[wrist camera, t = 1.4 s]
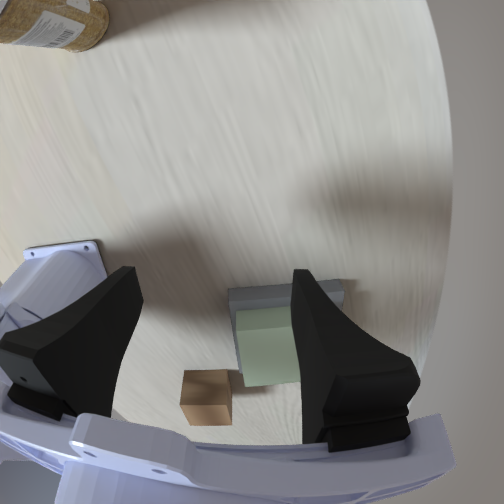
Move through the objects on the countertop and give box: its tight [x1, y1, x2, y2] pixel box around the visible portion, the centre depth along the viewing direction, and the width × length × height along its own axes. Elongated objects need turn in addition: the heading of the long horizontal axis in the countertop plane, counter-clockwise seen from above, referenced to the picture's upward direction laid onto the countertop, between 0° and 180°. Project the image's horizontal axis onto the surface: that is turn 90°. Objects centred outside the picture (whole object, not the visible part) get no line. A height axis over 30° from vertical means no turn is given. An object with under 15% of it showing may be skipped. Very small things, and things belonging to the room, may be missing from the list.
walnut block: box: [180, 369, 232, 426], centre depth 31 cm, size 5×5×5 cm
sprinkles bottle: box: [0, 0, 109, 52], centre depth 8 cm, size 5×5×13 cm
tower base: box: [228, 279, 345, 373], centre depth 28 cm, size 10×10×2 cm
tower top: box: [236, 306, 301, 387], centre depth 26 cm, size 8×8×2 cm
